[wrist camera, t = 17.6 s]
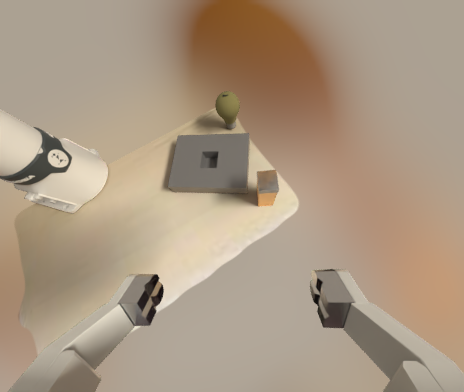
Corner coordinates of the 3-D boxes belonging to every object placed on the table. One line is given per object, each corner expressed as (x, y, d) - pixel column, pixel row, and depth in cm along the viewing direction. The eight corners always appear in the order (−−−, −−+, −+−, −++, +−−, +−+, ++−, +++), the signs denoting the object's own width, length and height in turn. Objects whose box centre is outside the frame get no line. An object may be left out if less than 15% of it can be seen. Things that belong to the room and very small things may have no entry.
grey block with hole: (174, 192, 42) (167, 186, 39) (183, 143, 46) (177, 135, 43) (247, 193, 39) (246, 188, 36) (249, 142, 44) (249, 133, 40)
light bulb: (226, 139, 45) (218, 108, 35) (218, 124, 47) (209, 91, 37) (245, 130, 45) (242, 97, 36) (236, 115, 47) (232, 81, 37)
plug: (258, 206, 38) (258, 191, 29) (256, 191, 39) (257, 171, 30) (273, 205, 38) (278, 189, 28) (271, 189, 39) (276, 169, 29)
